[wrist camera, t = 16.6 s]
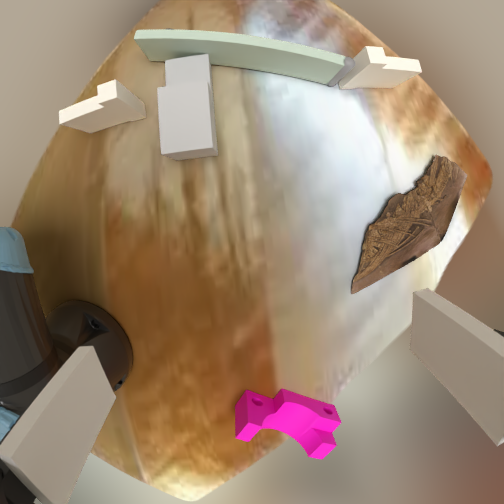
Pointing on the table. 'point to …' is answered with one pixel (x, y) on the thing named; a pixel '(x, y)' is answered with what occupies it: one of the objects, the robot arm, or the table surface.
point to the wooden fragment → (411, 223)
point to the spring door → (246, 53)
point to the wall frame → (132, 108)
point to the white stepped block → (187, 109)
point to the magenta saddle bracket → (288, 419)
